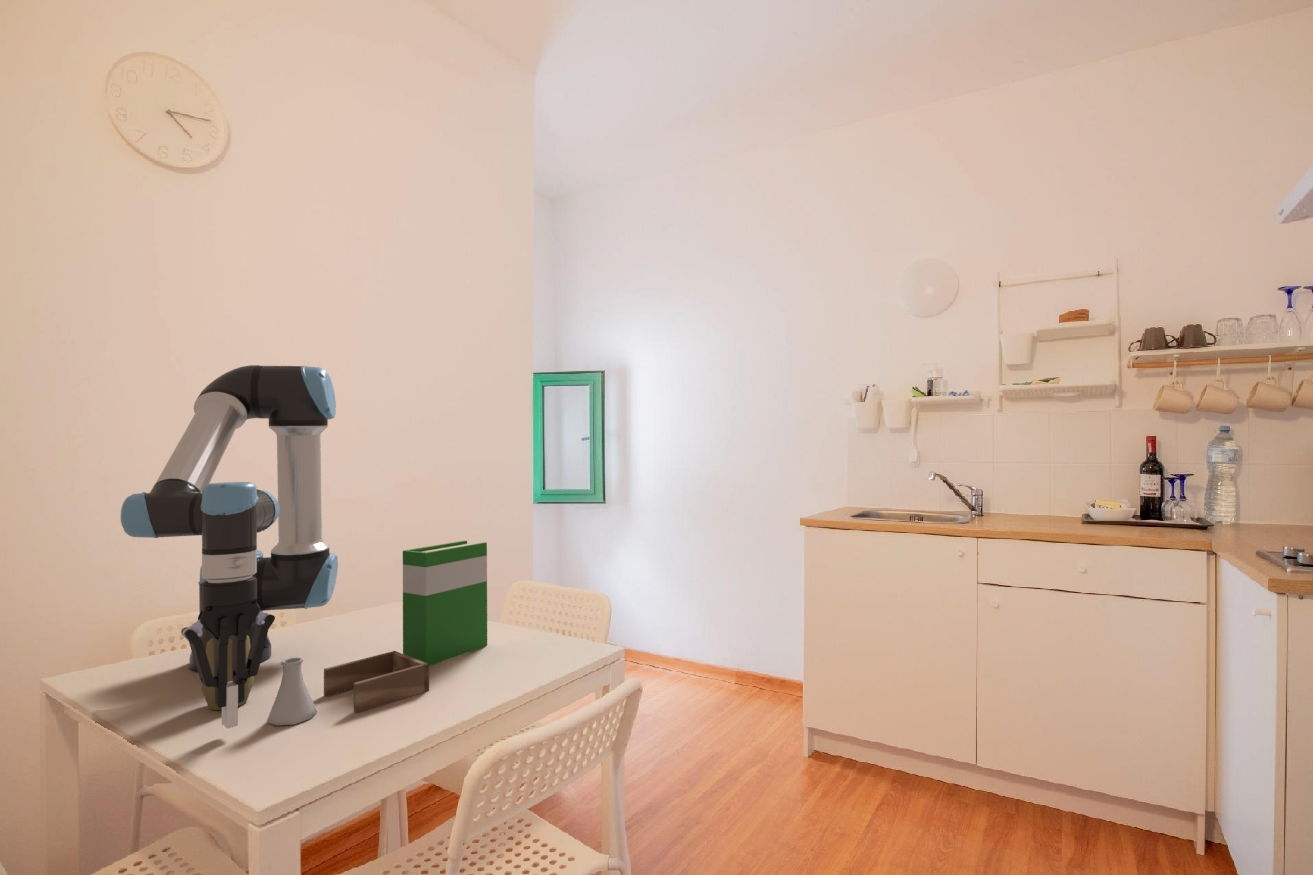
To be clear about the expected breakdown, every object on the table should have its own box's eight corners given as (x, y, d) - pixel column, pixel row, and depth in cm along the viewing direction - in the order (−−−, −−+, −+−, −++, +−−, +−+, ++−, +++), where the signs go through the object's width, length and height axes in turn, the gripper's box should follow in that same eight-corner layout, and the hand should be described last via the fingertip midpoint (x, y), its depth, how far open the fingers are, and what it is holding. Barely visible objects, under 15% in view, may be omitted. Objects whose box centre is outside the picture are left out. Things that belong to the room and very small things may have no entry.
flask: (295, 728, 110) (295, 668, 110) (257, 725, 111) (257, 665, 111) (325, 711, 117) (325, 654, 117) (289, 708, 118) (289, 652, 118)
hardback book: (464, 640, 159) (464, 540, 159) (487, 645, 155) (486, 542, 155) (402, 661, 144) (402, 550, 144) (426, 667, 140) (425, 553, 140)
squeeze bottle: (214, 717, 115) (215, 612, 115) (192, 707, 119) (192, 607, 119) (263, 701, 121) (263, 603, 122) (240, 693, 126) (240, 598, 126)
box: (323, 695, 124) (323, 668, 124) (394, 675, 135) (394, 650, 135) (356, 713, 116) (356, 684, 116) (429, 690, 126) (429, 663, 126)
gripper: (189, 587, 100) (188, 745, 99) (282, 574, 110) (282, 718, 109) (174, 581, 105) (174, 731, 104) (265, 569, 114) (265, 706, 114)
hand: (229, 724), depth 107 cm, fingers closed
